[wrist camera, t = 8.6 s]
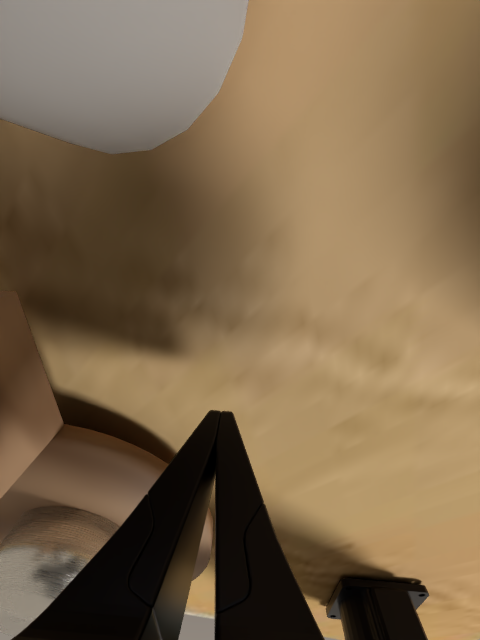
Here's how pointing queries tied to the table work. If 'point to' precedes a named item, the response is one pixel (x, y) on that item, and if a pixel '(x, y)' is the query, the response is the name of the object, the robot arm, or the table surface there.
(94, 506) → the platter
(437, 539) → the table surface
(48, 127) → the can
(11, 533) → the lid
